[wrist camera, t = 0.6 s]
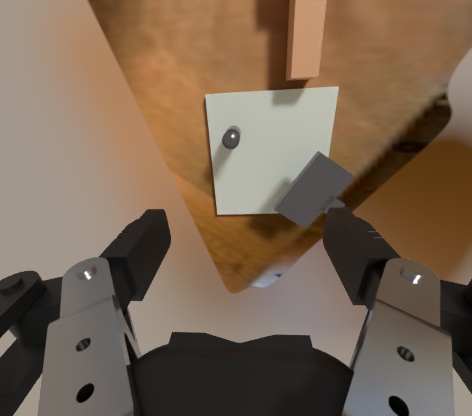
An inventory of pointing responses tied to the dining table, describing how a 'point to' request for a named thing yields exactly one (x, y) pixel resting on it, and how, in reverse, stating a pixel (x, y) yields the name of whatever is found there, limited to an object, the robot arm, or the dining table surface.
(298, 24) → the link
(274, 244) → the dining table surface
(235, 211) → the board
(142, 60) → the dining table surface
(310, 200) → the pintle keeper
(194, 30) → the dining table surface
